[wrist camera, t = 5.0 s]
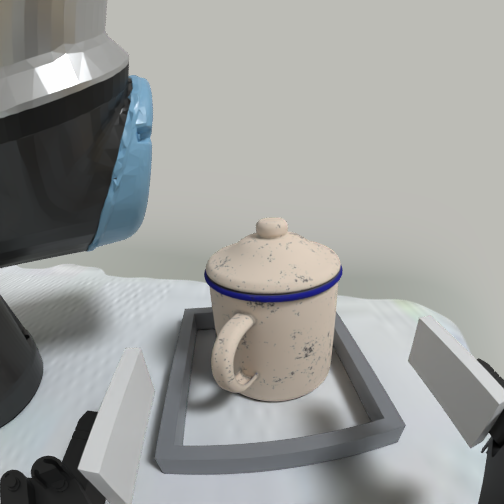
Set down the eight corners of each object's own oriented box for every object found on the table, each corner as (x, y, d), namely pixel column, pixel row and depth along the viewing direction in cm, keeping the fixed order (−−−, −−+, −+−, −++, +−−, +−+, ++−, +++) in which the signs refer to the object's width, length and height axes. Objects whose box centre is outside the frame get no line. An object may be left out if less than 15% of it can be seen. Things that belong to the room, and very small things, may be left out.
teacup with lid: (250, 325, 29) (242, 204, 25) (343, 344, 25) (353, 210, 21) (173, 407, 19) (132, 249, 15) (296, 453, 14) (306, 273, 11)
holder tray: (163, 473, 13) (154, 458, 13) (187, 324, 29) (184, 308, 29) (397, 442, 14) (405, 425, 13) (325, 312, 30) (326, 296, 29)
